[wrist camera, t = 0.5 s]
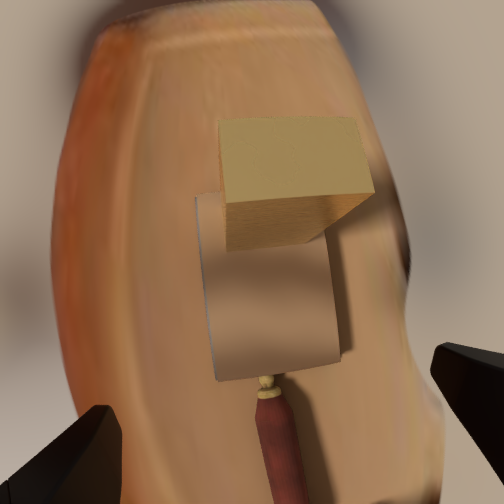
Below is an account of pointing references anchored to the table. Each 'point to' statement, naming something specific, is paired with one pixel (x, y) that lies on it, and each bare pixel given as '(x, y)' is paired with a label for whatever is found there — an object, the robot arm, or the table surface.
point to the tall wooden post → (288, 178)
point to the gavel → (280, 445)
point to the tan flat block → (265, 302)
